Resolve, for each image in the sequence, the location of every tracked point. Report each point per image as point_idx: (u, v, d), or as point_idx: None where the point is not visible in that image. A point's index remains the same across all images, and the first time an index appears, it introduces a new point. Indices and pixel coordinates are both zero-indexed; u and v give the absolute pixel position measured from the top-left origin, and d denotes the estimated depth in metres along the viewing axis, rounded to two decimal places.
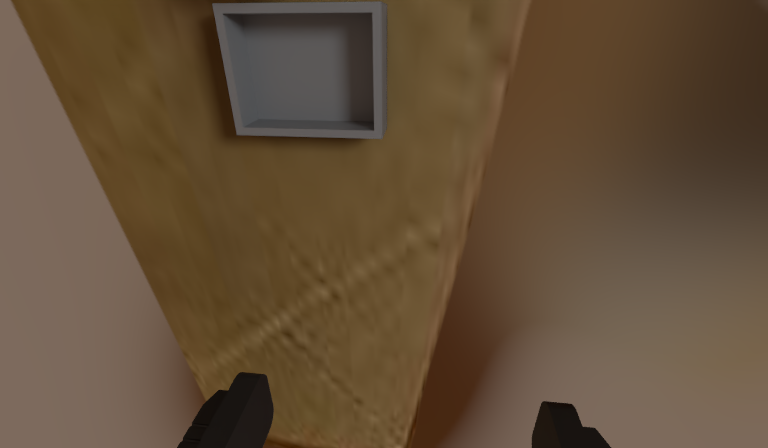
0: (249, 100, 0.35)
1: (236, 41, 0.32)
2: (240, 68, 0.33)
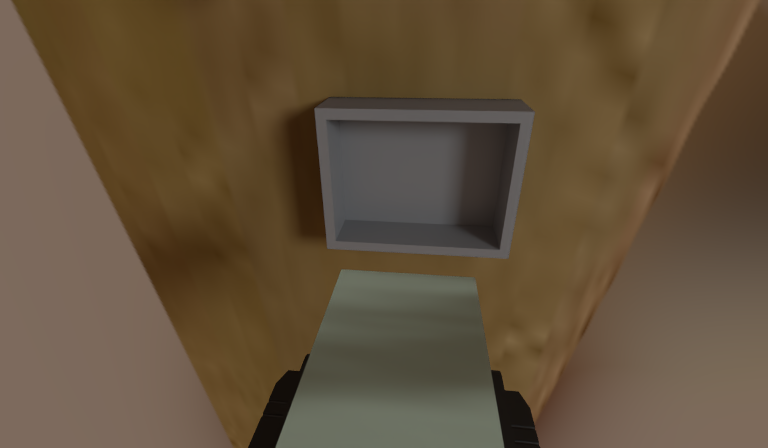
0: (340, 203, 0.29)
1: (334, 144, 0.26)
2: (335, 173, 0.27)
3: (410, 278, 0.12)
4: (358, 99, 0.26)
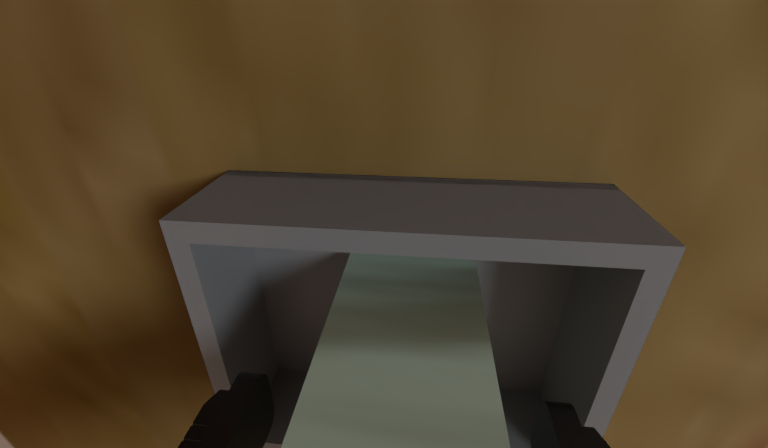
0: (261, 358, 0.16)
1: (230, 271, 0.13)
2: (240, 320, 0.14)
3: None
4: (280, 180, 0.13)
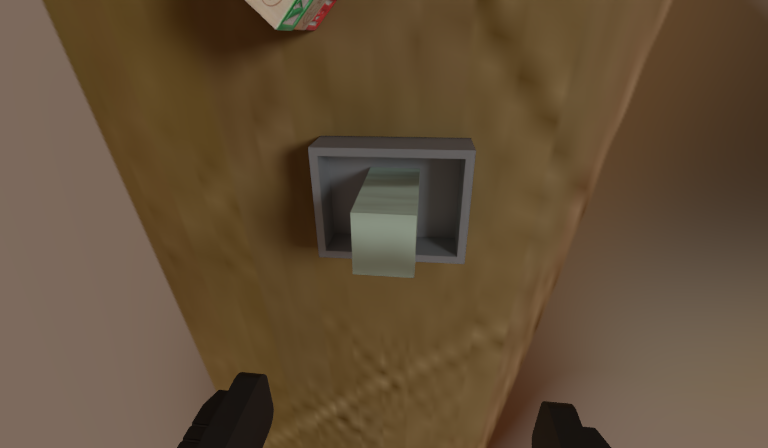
0: (330, 220, 0.36)
1: (324, 173, 0.33)
2: (325, 196, 0.34)
3: (396, 168, 0.34)
4: (343, 138, 0.33)
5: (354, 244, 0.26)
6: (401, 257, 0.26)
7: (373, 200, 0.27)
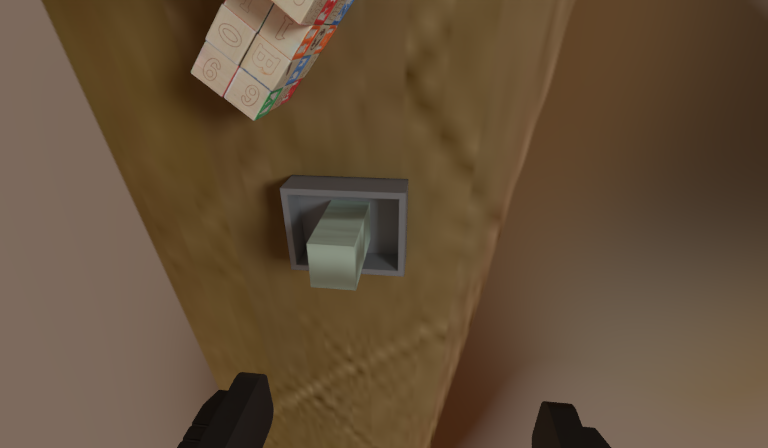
0: (300, 240, 0.45)
1: (294, 205, 0.42)
2: (295, 222, 0.43)
3: (351, 201, 0.43)
4: (309, 178, 0.42)
5: (310, 265, 0.36)
6: (345, 275, 0.36)
7: (325, 232, 0.37)
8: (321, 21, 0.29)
